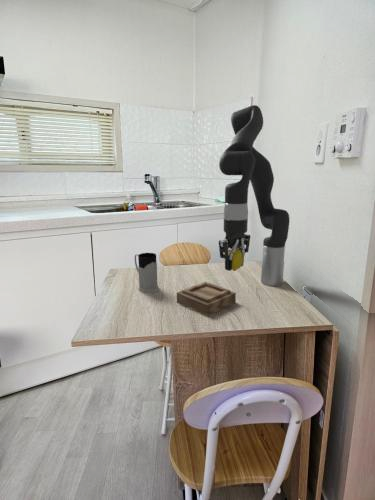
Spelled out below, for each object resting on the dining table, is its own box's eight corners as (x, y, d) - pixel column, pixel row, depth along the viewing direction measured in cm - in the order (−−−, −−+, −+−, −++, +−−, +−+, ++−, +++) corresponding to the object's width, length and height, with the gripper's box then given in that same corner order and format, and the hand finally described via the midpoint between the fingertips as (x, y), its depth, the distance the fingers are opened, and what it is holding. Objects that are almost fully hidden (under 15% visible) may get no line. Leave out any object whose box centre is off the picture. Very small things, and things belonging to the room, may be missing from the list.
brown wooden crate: (205, 291, 130) (205, 280, 129) (235, 302, 119) (235, 290, 118) (176, 302, 120) (176, 290, 119) (207, 315, 109) (207, 302, 107)
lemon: (224, 268, 105) (224, 246, 103) (240, 268, 106) (241, 245, 104) (227, 274, 100) (228, 250, 98) (244, 273, 100) (245, 249, 98)
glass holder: (145, 294, 128) (144, 259, 124) (127, 284, 138) (126, 252, 134) (162, 288, 133) (161, 255, 130) (144, 280, 144) (143, 249, 140)
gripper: (239, 213, 106) (238, 261, 110) (211, 218, 96) (211, 270, 100) (258, 215, 100) (256, 265, 105) (230, 221, 91) (229, 275, 95)
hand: (234, 267), depth 102 cm, fingers closed on lemon, 5 cm apart
